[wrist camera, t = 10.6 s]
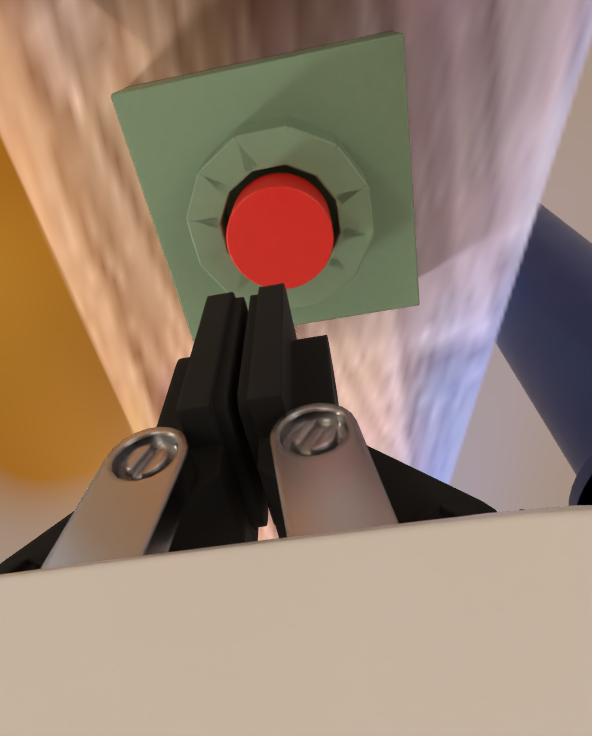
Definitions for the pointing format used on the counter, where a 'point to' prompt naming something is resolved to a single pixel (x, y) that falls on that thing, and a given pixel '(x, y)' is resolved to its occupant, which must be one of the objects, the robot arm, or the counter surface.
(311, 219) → the button
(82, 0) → the counter surface
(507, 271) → the counter surface
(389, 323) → the counter surface
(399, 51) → the button box
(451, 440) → the counter surface
